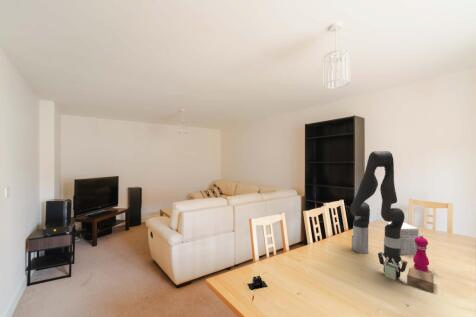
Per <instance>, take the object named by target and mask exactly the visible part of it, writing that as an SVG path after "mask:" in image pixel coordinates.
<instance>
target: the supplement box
mask: <svg viewBox="0 0 476 317" xmlns="http://www.w3.org/2000/svg"><path fill="white" fill-rule="evenodd" d="M391 223H392V222H386V225H389V224H391ZM419 230H420V229H419V227H415V226H414V225H411V224H409V223H406V222H403V225H402V228H401V230H400V240H401V255H404V256H405V255H406V256H407V255H413V256H414V255H415V254H416V251H417V248H416V243H415V238H416V237H419V235H420V234H419V233H420V232H419Z"/></svg>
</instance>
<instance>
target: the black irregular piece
mask: <svg viewBox="0 0 476 317" xmlns="http://www.w3.org/2000/svg"><path fill="white" fill-rule="evenodd" d="M246 285H247V286H248V288H249V291H253V290H259V289H263V288H267V287H269V286H268V285H267V283H266V282H265V280H263V279H262V277H261V276H260V275H257V276H255V275H254V276H253V277H252V282H251V283H250V282H249V283H247V284H246Z"/></svg>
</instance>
